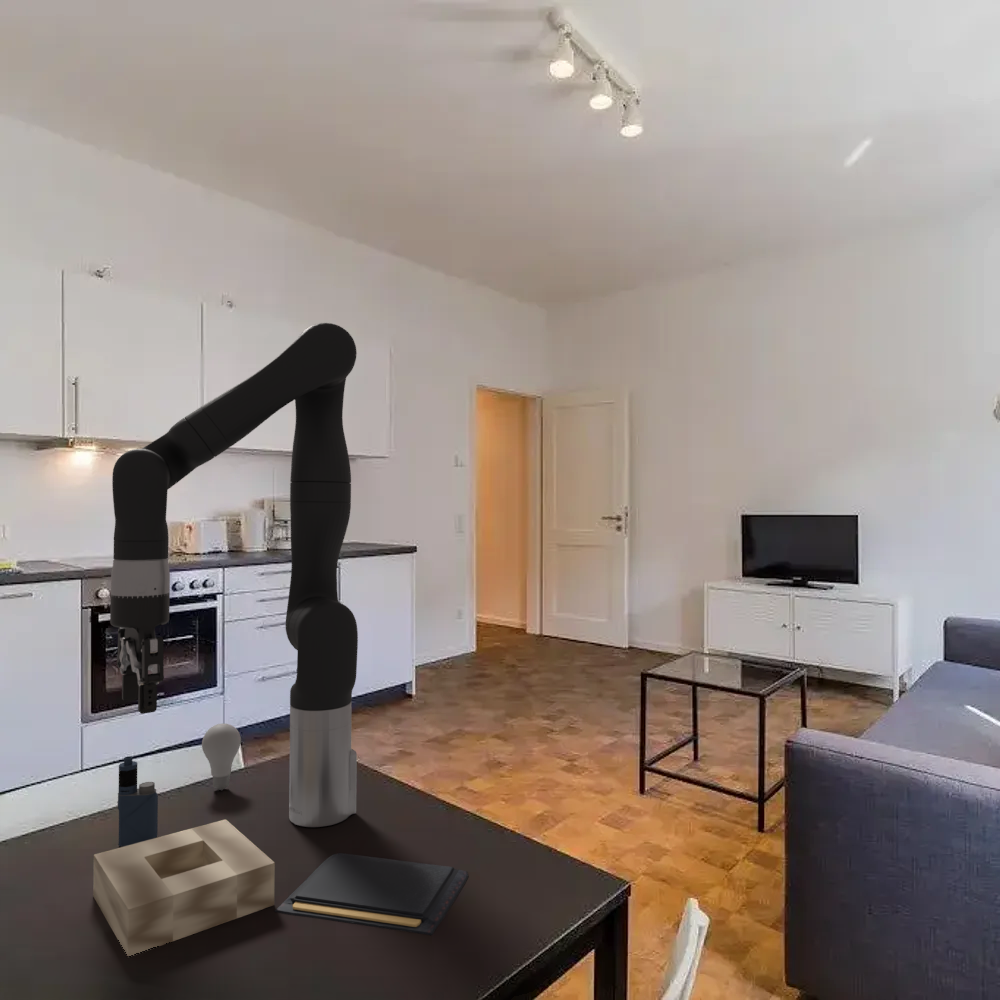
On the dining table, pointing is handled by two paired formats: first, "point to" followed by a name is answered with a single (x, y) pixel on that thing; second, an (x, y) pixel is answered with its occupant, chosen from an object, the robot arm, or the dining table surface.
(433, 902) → the black book
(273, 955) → the dining table surface
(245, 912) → the holder block
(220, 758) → the lightbulb
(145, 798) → the vaping device
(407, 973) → the dining table surface
